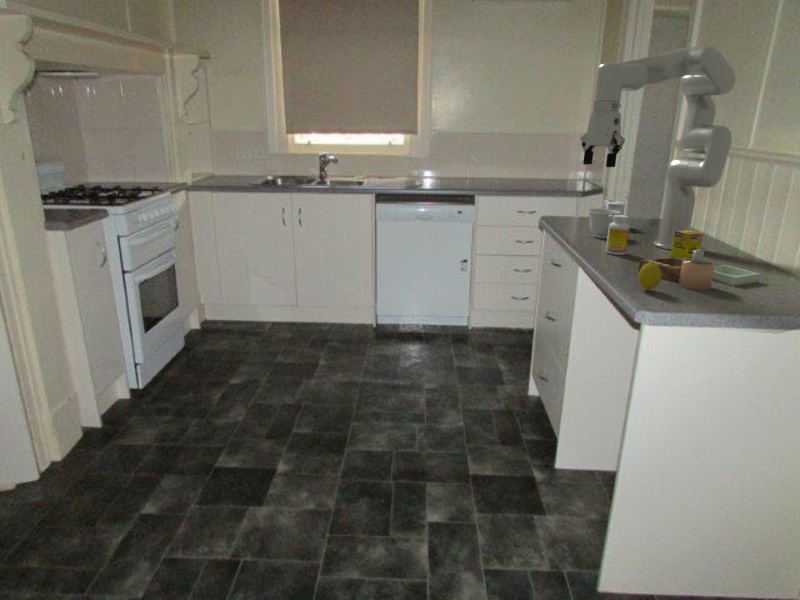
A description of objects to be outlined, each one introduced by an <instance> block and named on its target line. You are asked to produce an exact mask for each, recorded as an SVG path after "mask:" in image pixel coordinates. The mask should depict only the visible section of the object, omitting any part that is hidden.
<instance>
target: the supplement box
mask: <svg viewBox="0 0 800 600" xmlns="http://www.w3.org/2000/svg"><path fill="white" fill-rule="evenodd" d="M703 236H704V233H703V232H700V231H695V230H692V229H690V230H683V231H675V234H674V239H673V245H672V250H671V249H670V256H674V257H678V258H682V259H685V258H692V256H693V251H694V250H697V249H700V250H701V247H702V243H703V242H702V241H703Z"/></svg>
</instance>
